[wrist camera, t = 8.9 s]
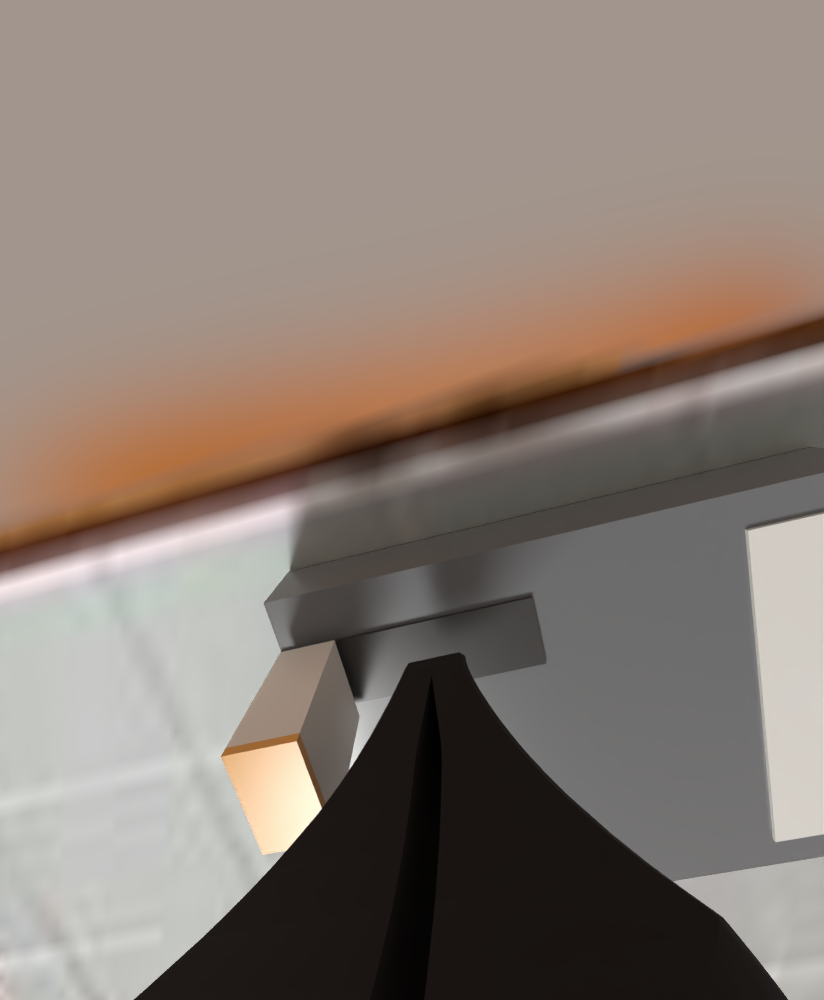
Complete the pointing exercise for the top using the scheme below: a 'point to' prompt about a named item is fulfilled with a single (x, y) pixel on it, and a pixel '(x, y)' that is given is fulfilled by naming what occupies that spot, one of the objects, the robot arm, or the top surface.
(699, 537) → the box
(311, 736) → the breaker handle
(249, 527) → the top surface
